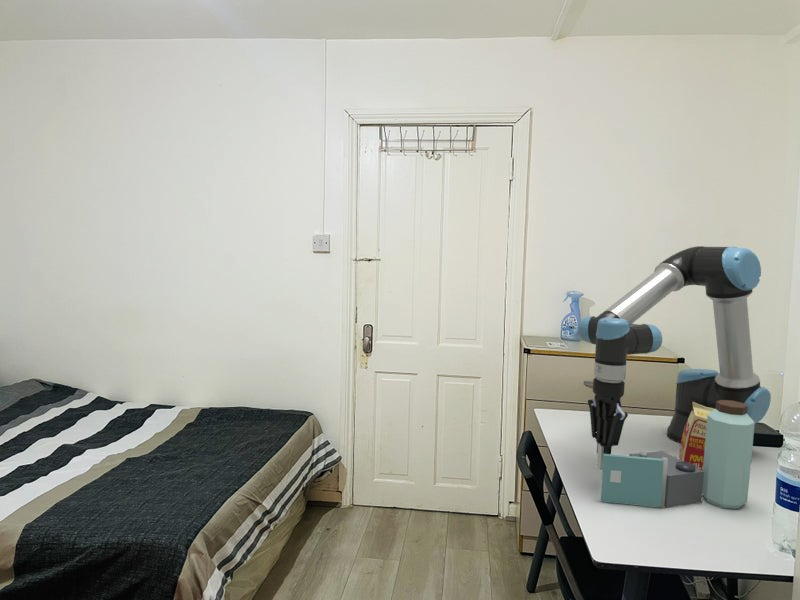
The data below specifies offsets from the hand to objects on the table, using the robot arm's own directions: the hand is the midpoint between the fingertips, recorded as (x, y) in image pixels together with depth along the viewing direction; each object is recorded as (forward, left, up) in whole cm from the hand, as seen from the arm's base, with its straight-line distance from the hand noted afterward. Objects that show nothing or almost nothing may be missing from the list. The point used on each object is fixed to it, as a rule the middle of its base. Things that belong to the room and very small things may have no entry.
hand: (602, 468), depth 144 cm
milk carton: (-33, -2, -6) cm, 34 cm away
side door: (-2, +10, -5) cm, 11 cm away
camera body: (-14, +6, -6) cm, 16 cm away
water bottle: (-26, +14, -6) cm, 30 cm away
